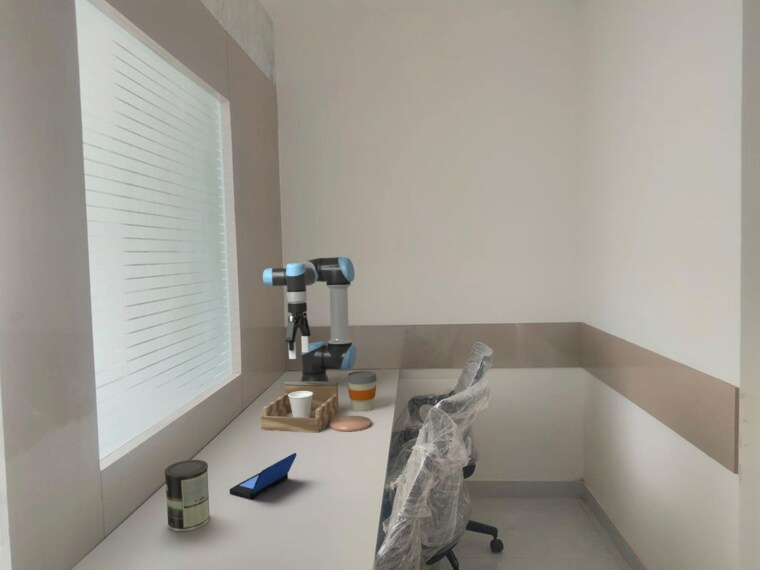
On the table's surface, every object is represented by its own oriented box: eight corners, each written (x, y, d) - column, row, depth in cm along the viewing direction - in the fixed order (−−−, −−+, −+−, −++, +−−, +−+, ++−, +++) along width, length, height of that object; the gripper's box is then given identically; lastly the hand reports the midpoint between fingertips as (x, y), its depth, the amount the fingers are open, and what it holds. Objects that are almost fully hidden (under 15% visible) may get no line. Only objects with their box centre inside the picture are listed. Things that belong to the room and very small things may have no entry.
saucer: (337, 417, 221) (337, 414, 221) (375, 419, 217) (375, 416, 217) (324, 430, 205) (324, 427, 205) (365, 432, 201) (365, 429, 201)
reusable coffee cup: (372, 403, 241) (371, 369, 240) (381, 410, 229) (380, 375, 228) (344, 406, 237) (343, 372, 236) (352, 414, 225) (351, 378, 224)
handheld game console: (265, 474, 167) (264, 444, 166) (299, 482, 160) (298, 451, 160) (227, 494, 153) (225, 462, 153) (262, 504, 147) (261, 470, 146)
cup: (316, 417, 222) (315, 390, 222) (311, 425, 212) (310, 397, 212) (292, 417, 223) (291, 390, 223) (286, 425, 213) (285, 397, 213)
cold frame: (287, 410, 233) (286, 380, 232) (338, 412, 228) (337, 382, 227) (261, 429, 208) (259, 396, 208) (318, 432, 203) (316, 398, 202)
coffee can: (162, 533, 132) (158, 477, 131) (174, 513, 142) (171, 460, 142) (205, 530, 133) (202, 474, 132) (214, 510, 143) (211, 458, 142)
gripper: (299, 299, 228) (301, 349, 229) (275, 305, 204) (277, 361, 205) (316, 299, 226) (318, 349, 227) (294, 305, 202) (296, 361, 203)
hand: (299, 355), depth 216 cm, fingers open, 13 cm apart
